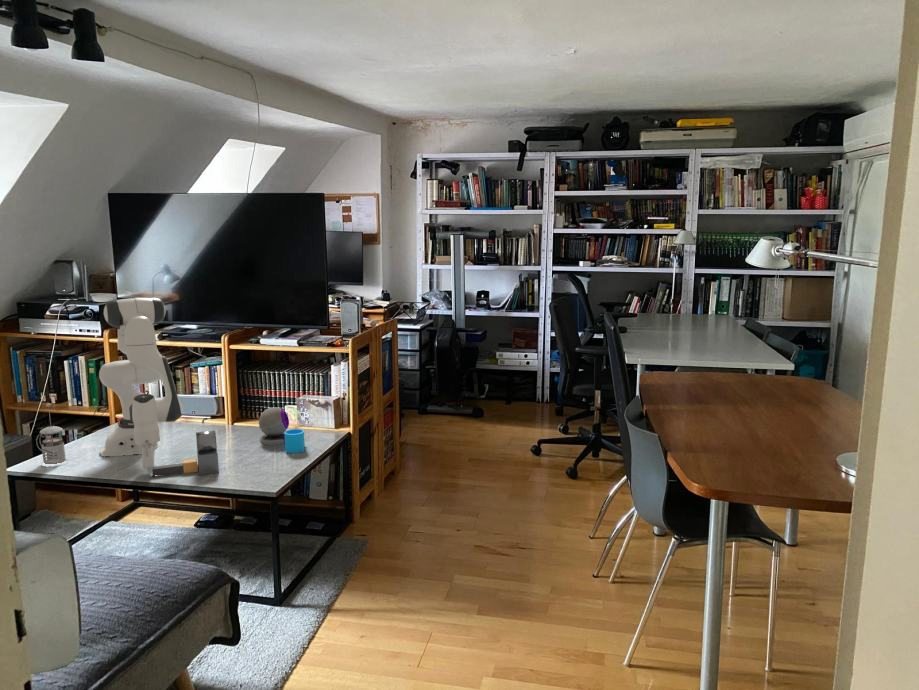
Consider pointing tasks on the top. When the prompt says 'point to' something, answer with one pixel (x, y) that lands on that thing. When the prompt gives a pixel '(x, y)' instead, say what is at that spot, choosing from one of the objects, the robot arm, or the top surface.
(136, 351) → the robot arm
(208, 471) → the block
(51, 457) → the french press
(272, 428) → the webcam
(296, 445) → the mug
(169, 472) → the plug
